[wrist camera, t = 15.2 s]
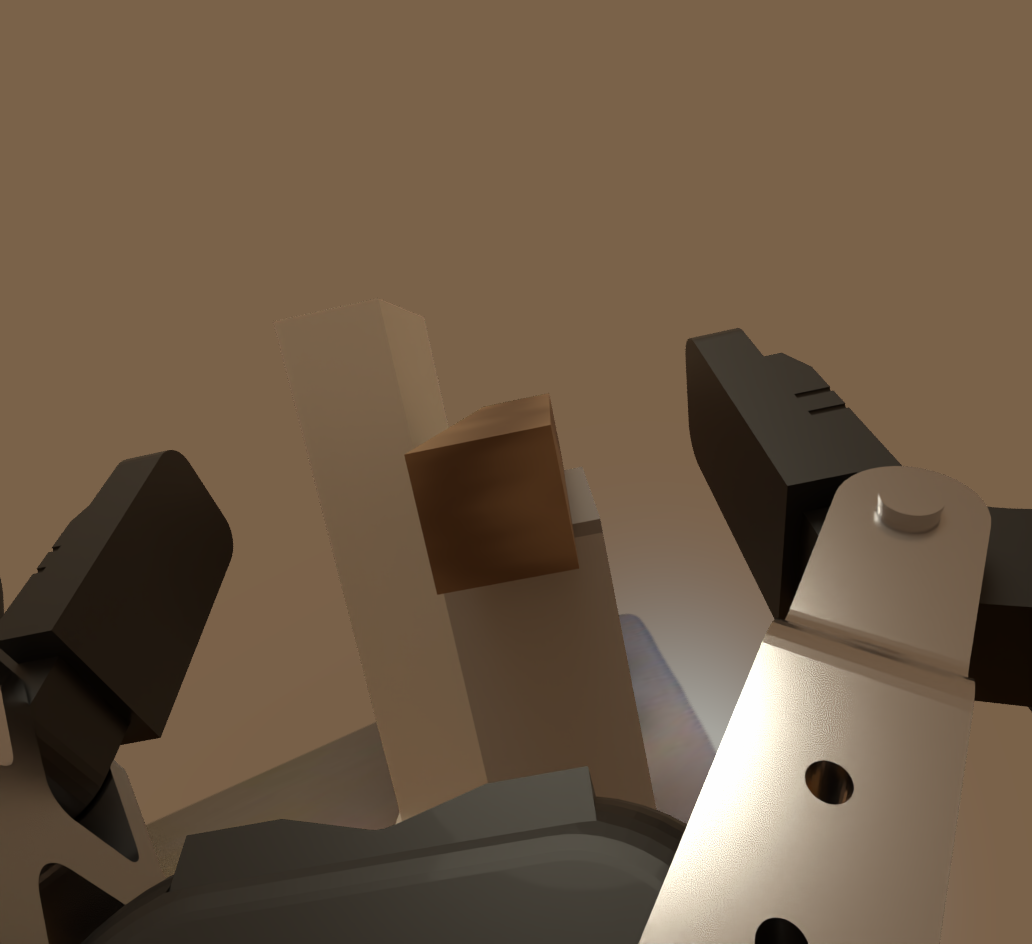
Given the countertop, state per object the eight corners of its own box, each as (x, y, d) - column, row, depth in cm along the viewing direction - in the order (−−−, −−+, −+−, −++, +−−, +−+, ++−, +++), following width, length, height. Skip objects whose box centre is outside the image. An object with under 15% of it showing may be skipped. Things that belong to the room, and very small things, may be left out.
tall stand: (397, 845, 40) (260, 322, 35) (436, 722, 53) (341, 335, 49) (508, 828, 39) (384, 294, 34) (518, 708, 53) (431, 315, 48)
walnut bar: (436, 594, 18) (404, 454, 17) (497, 470, 40) (483, 406, 39) (579, 568, 18) (550, 424, 17) (561, 457, 39) (548, 393, 39)
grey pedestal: (549, 1045, 26) (433, 550, 23) (549, 834, 38) (472, 488, 35) (698, 1026, 26) (600, 519, 23) (650, 818, 37) (582, 466, 34)
